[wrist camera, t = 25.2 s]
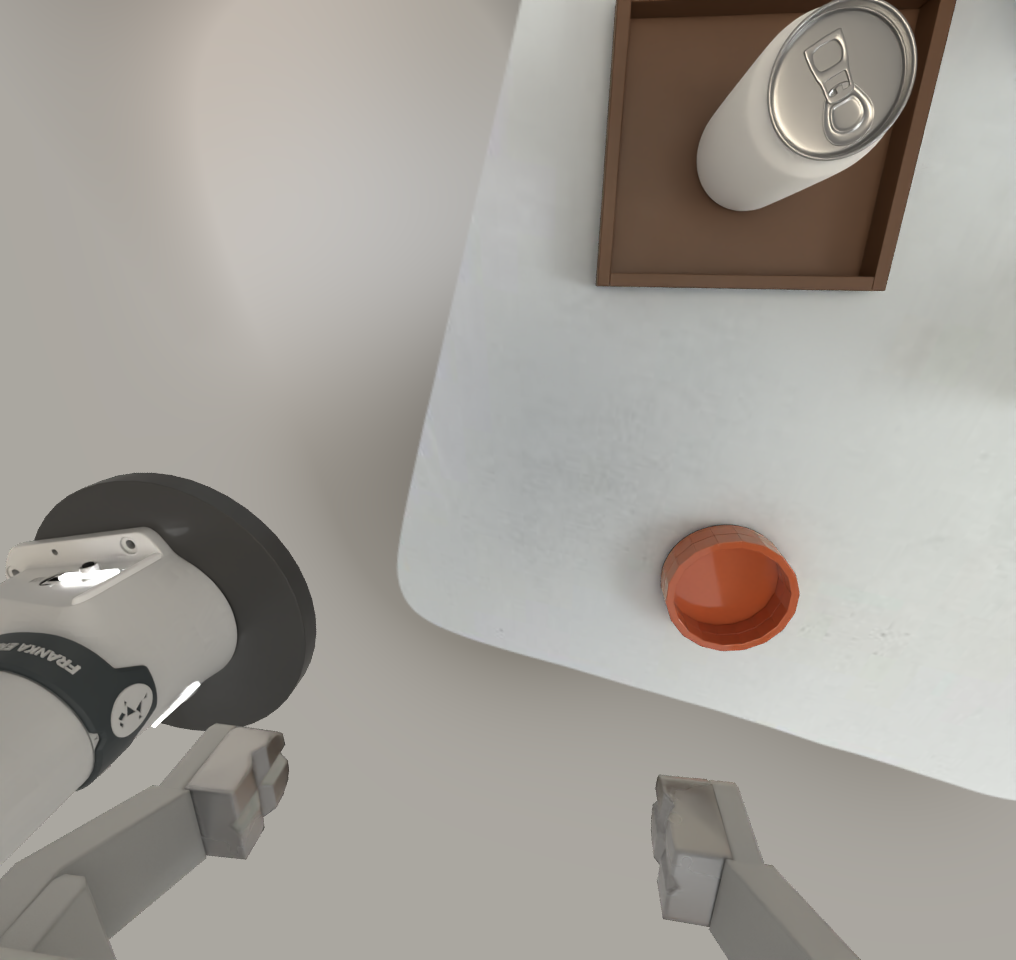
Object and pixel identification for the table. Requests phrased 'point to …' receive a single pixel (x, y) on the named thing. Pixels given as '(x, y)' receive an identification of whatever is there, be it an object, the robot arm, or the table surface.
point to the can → (809, 104)
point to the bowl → (728, 588)
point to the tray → (674, 144)
